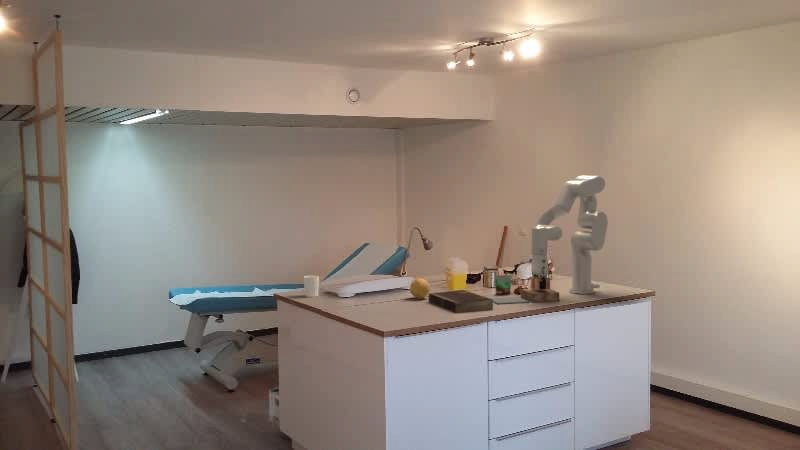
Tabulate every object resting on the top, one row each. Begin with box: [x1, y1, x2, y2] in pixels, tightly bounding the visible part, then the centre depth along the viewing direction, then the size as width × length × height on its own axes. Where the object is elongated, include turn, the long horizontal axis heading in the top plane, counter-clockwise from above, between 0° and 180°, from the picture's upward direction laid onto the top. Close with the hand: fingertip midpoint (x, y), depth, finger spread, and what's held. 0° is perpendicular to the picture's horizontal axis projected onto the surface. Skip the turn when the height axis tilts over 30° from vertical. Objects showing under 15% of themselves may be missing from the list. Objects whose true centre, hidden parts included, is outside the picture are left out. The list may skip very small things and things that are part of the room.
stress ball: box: [409, 277, 431, 300], centre depth 359 cm, size 10×10×10 cm
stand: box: [520, 288, 560, 303], centre depth 355 cm, size 14×14×8 cm
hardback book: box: [428, 289, 494, 314], centre depth 340 cm, size 29×19×5 cm, turn 23°
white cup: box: [303, 274, 320, 298], centre depth 368 cm, size 8×8×10 cm
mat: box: [489, 296, 530, 305], centre depth 350 cm, size 16×13×1 cm
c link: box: [529, 276, 551, 290], centre depth 355 cm, size 7×7×6 cm
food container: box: [494, 272, 513, 296], centre depth 371 cm, size 12×6×10 cm, turn 143°
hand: (539, 287), depth 355 cm, fingers closed on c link, 7 cm apart
